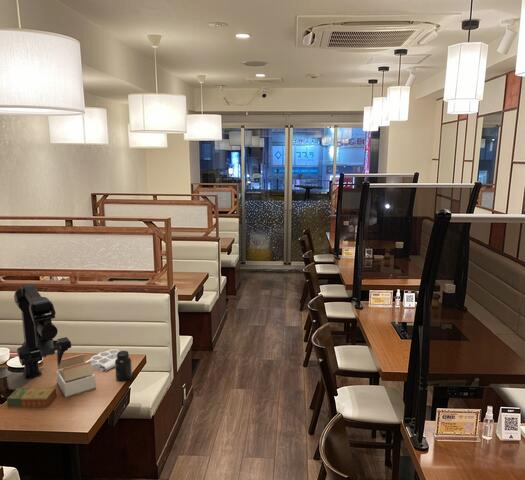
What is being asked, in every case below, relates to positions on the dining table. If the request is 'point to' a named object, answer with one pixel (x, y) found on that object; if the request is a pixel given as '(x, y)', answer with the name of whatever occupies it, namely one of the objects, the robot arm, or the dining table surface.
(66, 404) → the dining table surface
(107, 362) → the white egg tray
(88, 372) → the flap
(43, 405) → the carton
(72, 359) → the flap
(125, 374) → the supplement bottle
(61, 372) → the crate
